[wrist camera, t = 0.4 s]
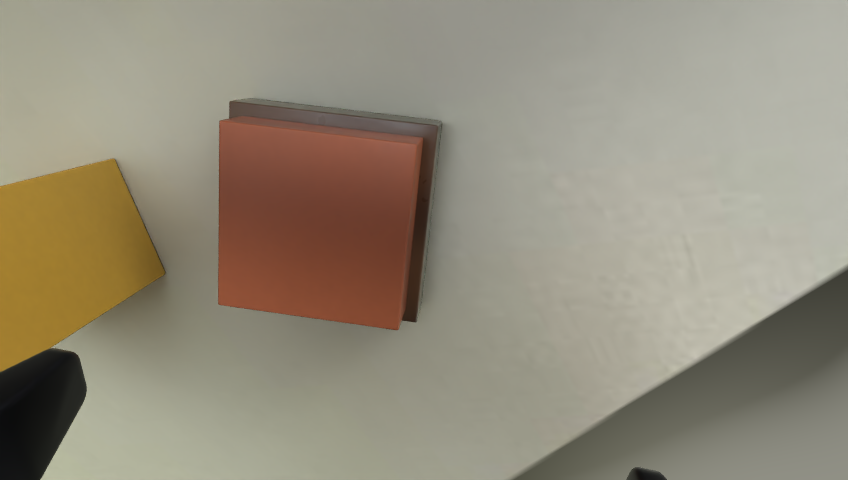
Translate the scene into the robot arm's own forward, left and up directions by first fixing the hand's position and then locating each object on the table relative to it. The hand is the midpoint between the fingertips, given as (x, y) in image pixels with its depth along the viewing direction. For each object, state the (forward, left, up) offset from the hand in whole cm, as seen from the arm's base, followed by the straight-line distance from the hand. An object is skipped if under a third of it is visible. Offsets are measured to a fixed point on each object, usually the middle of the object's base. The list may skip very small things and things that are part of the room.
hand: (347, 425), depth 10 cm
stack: (-3, +2, -16) cm, 17 cm away
